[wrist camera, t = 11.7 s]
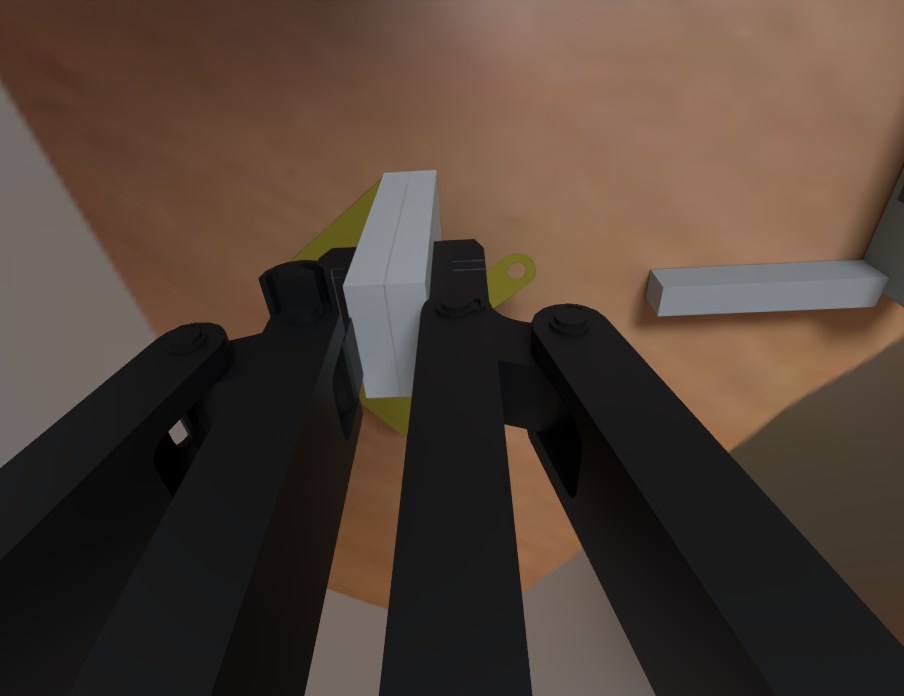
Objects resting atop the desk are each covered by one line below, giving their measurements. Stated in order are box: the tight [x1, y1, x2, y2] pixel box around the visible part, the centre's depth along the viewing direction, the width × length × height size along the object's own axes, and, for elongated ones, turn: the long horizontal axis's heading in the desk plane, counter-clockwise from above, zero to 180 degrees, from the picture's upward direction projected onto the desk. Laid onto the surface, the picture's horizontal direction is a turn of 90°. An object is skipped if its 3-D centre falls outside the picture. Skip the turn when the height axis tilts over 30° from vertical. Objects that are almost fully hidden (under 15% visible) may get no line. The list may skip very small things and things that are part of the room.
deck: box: [646, 167, 904, 316], centre depth 24 cm, size 22×17×6 cm
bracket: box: [292, 179, 536, 437], centre depth 30 cm, size 16×8×15 cm
